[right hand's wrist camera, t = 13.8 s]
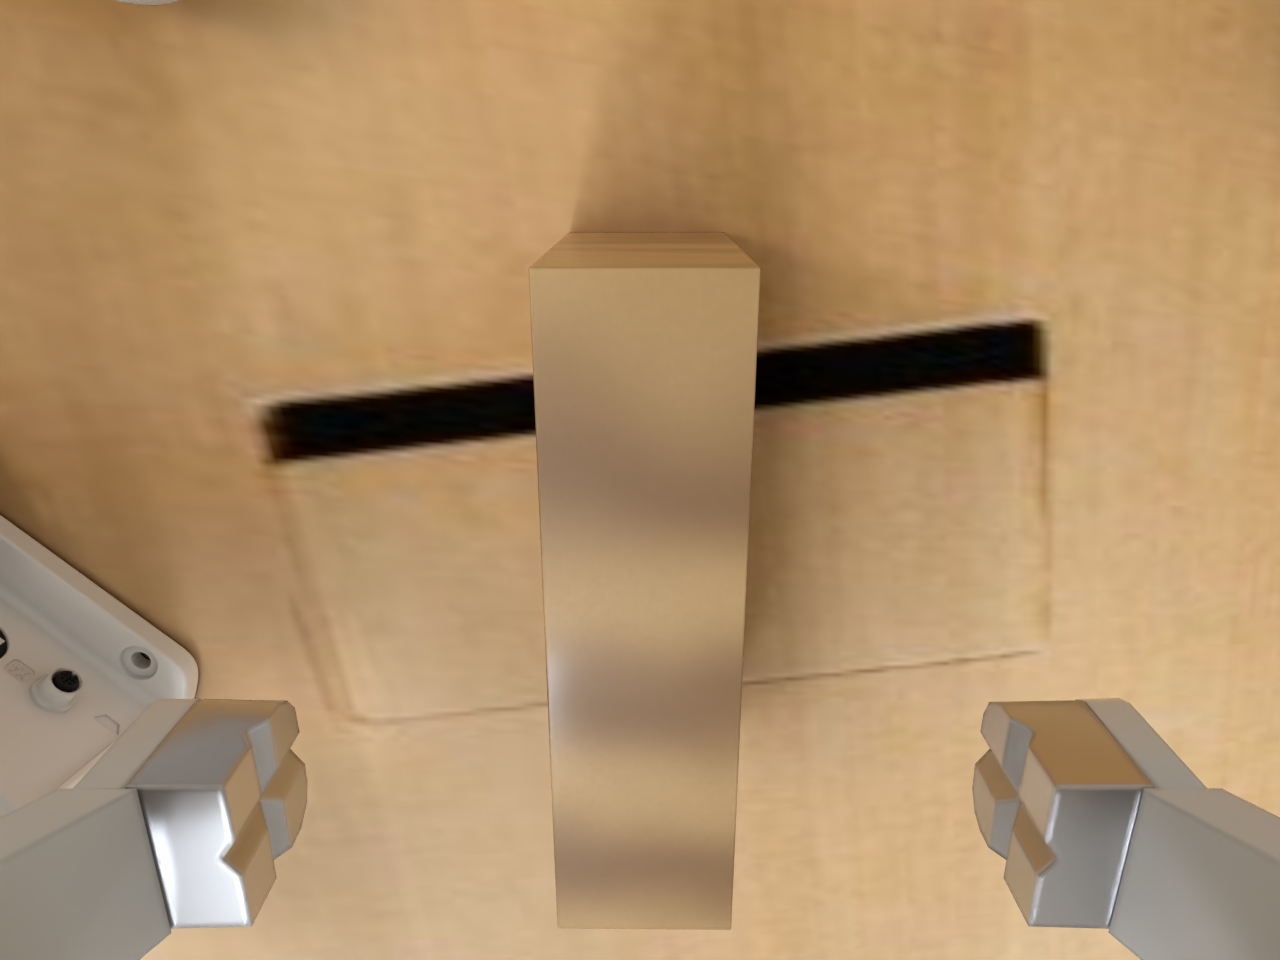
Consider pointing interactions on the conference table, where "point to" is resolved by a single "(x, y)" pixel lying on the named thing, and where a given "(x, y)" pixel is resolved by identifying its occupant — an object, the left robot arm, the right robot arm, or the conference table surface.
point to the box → (644, 566)
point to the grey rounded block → (148, 2)
